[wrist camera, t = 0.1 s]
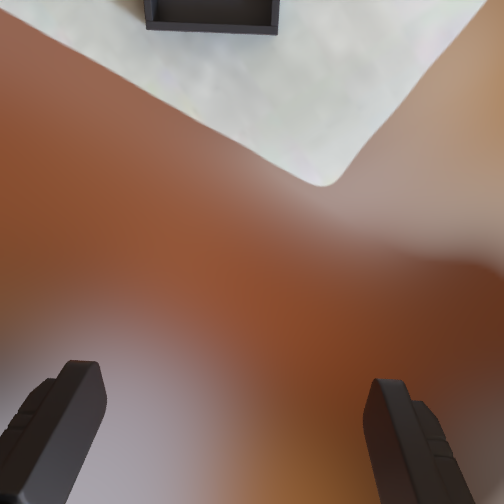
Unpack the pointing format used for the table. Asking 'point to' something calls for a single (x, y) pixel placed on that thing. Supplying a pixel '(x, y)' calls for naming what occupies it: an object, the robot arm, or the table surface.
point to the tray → (213, 16)
